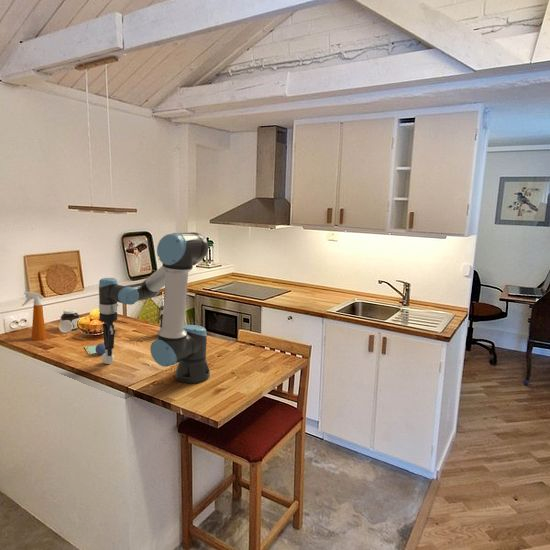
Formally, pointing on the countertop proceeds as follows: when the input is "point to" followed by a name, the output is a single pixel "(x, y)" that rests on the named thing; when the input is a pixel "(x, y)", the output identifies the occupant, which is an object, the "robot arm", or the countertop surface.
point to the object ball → (100, 348)
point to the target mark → (92, 349)
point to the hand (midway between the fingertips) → (108, 361)
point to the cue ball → (104, 359)
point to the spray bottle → (37, 316)
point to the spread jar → (69, 320)
